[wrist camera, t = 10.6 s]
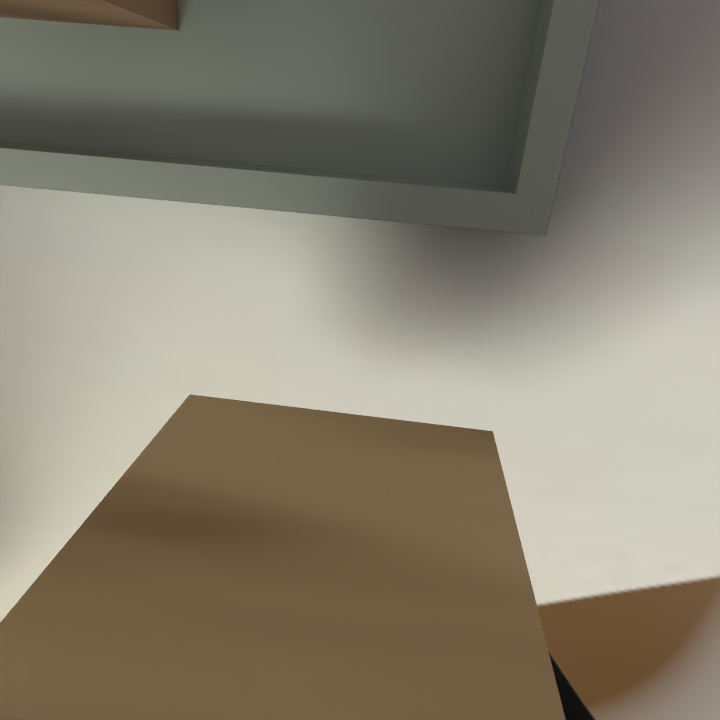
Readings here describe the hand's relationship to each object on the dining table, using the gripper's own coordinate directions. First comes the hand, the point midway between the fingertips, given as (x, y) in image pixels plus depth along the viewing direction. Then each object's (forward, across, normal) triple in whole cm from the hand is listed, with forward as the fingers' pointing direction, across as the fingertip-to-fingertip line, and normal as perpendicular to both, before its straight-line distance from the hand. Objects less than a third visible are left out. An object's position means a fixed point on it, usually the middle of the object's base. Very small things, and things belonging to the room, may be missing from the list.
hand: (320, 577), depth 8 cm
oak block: (+1, 0, 0) cm, 1 cm away
